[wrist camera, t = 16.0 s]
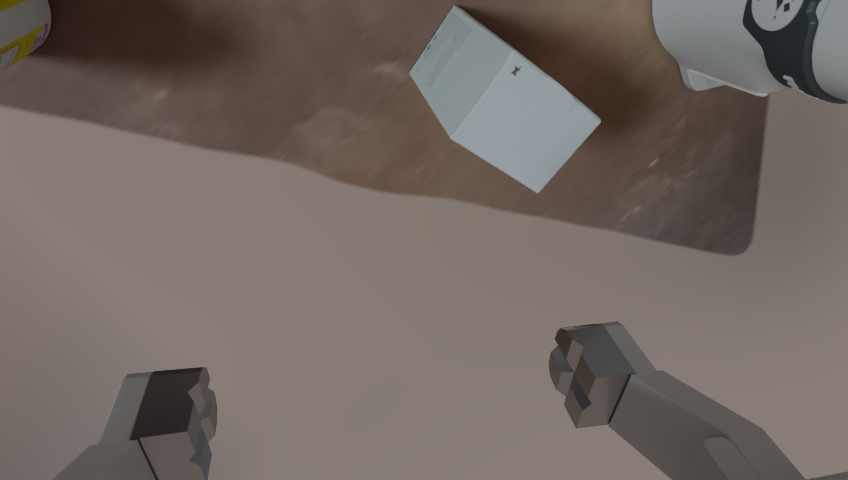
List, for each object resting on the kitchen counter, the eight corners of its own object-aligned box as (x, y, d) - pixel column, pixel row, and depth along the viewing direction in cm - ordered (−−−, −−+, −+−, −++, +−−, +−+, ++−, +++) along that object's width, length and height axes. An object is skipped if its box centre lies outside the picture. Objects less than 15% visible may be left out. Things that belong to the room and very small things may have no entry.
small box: (407, 73, 39) (446, 139, 29) (454, 1, 37) (515, 46, 27) (480, 122, 43) (538, 196, 33) (527, 61, 41) (606, 119, 31)
